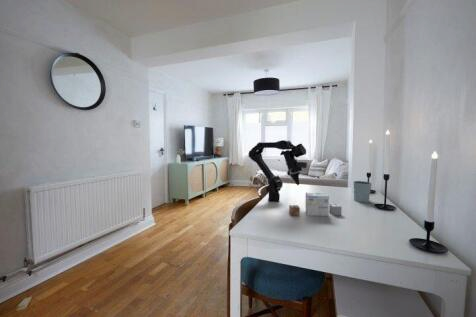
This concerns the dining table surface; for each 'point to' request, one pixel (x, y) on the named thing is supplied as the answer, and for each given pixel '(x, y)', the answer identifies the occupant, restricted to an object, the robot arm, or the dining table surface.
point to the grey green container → (362, 191)
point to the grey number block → (335, 209)
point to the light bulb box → (317, 204)
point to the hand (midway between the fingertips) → (298, 185)
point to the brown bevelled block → (294, 210)
